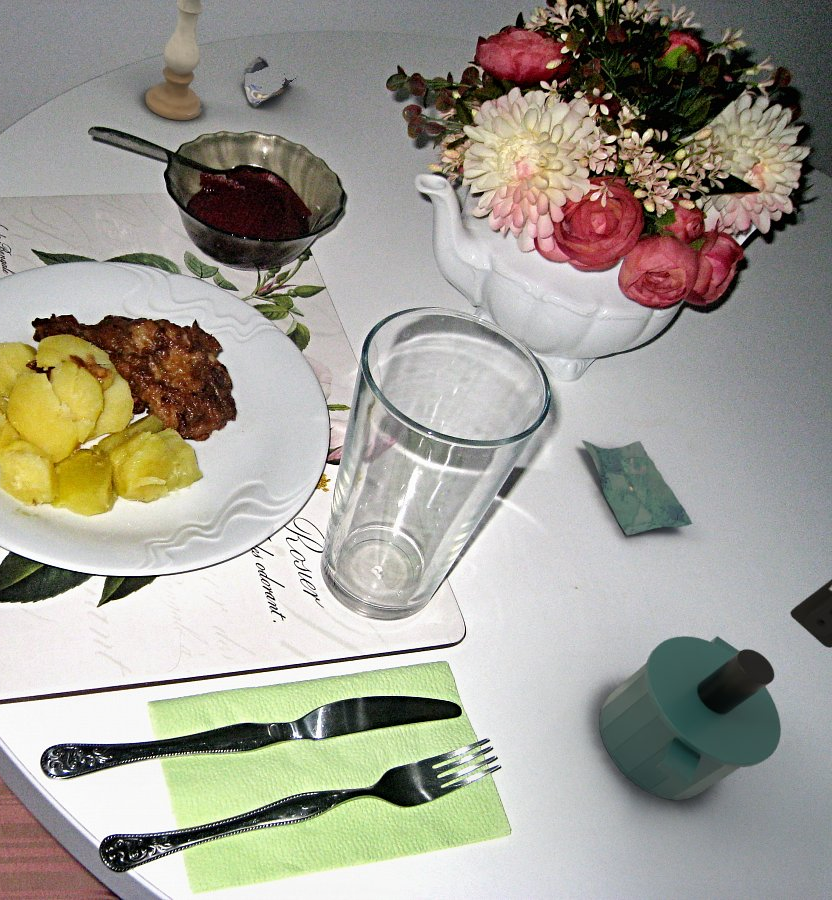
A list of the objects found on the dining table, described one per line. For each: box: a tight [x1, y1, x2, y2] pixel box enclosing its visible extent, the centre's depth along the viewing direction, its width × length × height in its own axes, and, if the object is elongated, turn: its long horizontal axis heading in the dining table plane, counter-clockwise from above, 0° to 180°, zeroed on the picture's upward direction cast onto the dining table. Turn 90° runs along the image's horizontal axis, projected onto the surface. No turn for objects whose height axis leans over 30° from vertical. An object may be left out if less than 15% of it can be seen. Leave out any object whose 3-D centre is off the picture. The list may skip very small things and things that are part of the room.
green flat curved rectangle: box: [581, 439, 693, 536], centre depth 102 cm, size 13×8×2 cm, turn 10°
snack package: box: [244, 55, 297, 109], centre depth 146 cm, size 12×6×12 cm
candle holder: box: [145, 0, 204, 121], centre depth 131 cm, size 9×9×20 cm
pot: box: [599, 635, 741, 801], centre depth 78 cm, size 10×16×8 cm, turn 142°
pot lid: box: [645, 635, 782, 768], centre depth 73 cm, size 11×11×7 cm
